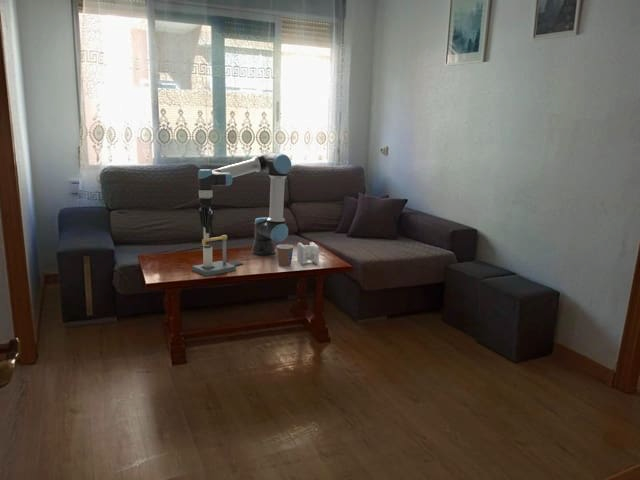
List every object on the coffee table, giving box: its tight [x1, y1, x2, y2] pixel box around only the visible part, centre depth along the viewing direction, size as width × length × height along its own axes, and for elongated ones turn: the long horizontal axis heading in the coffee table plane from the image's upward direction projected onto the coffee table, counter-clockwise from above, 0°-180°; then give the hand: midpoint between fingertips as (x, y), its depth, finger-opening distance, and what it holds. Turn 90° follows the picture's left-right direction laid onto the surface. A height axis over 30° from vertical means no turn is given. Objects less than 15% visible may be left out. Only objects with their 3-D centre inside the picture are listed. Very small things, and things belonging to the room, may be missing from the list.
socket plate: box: [191, 240, 237, 277], centre depth 287 cm, size 19×15×17 cm
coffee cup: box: [275, 243, 295, 268], centre depth 302 cm, size 10×10×12 cm
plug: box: [202, 244, 213, 269], centre depth 285 cm, size 6×6×15 cm
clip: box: [201, 234, 228, 247], centre depth 286 cm, size 16×3×4 cm, turn 134°
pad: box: [226, 260, 244, 267], centre depth 303 cm, size 8×8×1 cm
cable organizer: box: [296, 241, 320, 266], centre depth 311 cm, size 15×11×12 cm
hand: (206, 238), depth 291 cm, fingers closed
